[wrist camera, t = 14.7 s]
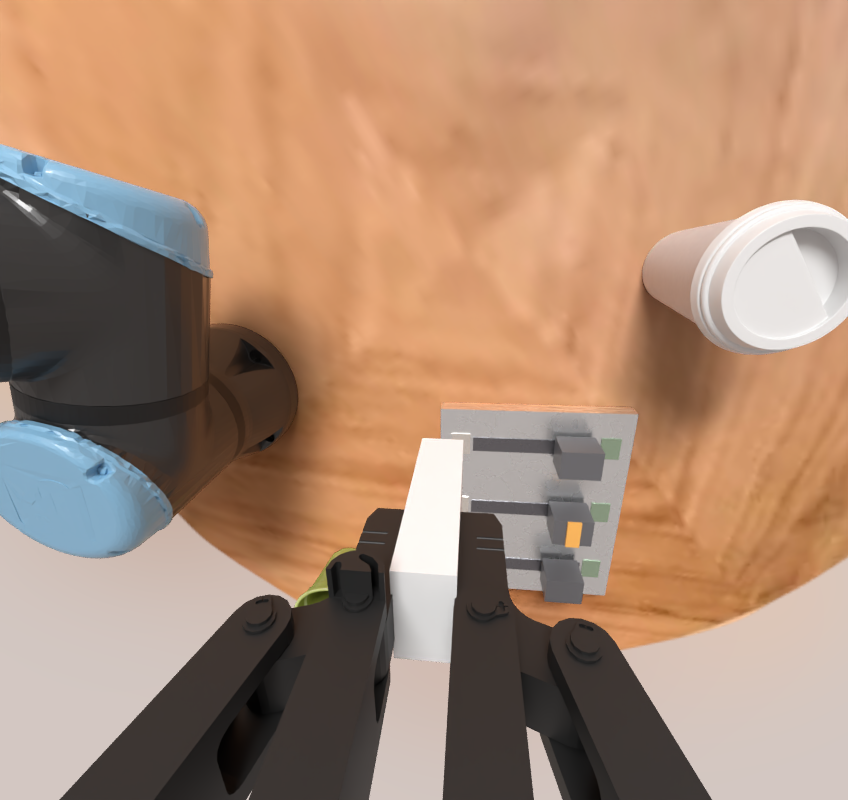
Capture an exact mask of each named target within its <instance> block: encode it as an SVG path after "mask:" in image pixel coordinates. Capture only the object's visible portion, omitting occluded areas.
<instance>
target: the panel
mask: <svg viewBox="0 0 848 800" xmlns="http://www.w3.org/2000/svg"><path fill="white" fill-rule="evenodd" d="M638 415H639V414H638V413H637V412H636V411H635V410H634V409H633V408H632V407H613V406H576V405H538V404H500V403H463V402H442V405H441V439H456V440H464V441H463V479H462V512H473V513H491V514H494V515H495V516H496V517H497V519H498V520H499V522H500V523H501V524H502V530H503V541H504V552H505V560H506V570H507V580H508V588H510V589H523V590H537V591H542V586H541V581H540V572H541V563H542V558H547V559H563V560H577V562H578V565H579V568H580V571H581V574H582V577H583V580H584V589H583V594H592V595H605V591H606V586H607V580H608V575H609V570H610V564H611V559H612V554H613V548H614V543H615V538H616V532H617V527H618V522H619V516H620V511H621V506H622V500H623V495H624V490H625V484H626V479H627V474H628V468H629V463H630V458H631V452H632V447H633V442H634V436H635V431H636V426H637V420H638ZM556 436H565V437H594V438H596V439H597V441H598V443H599V444H600V446H601V447H602V449H603V451H604V452H605V460H604V466H603V472H602V478H601V481H589V480H567V479H559V478H558V475H557V472H556V469H555V466H554V463H553V455H554V446H555V437H556ZM549 501H558V502H578V503H587V506H588V508H589V510H590V513H591V515H592V518H593V520H594V522H595V525H594V532H593V538H592V544H591V547H588V546H579V548H572V547H565V545H555V544H552V543H551V539H550V535H549V531H548V527H547V515H548V506H549Z"/></svg>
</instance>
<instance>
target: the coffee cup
mask: <svg viewBox="0 0 848 800" xmlns="http://www.w3.org/2000/svg"><path fill="white" fill-rule="evenodd" d="M642 277H643V283H644V286H645V288H646V290H647V291H648V293H649V294H650V295H651V296H652V297H654V298H655V299H657V300H658V301H660V302H661V303H663V304H665V305H666V306H668V307H670V308H671V309H673V310H675V311H676V312H678V313H679V314H681V315H683V316H684V317H686V318H687V319H689V320H691V321H692V322H694V323H696V324H697V326H698V328H699V329H700V331H701V332H702V333H703V335H704V336H705V337H706V338H707V339H708V340H710V341H711V342H712V343H714V344H715V345H717V346H718V347H720V348H722V349H725V350H727V351H730V352H734V353H739V354H749V355H763V354H772V353H777V352H782V351H786V350H789V349H792V348H796V347H800V346H803V345H806V344H808V343H811V342H813V341H815V340H817V339H819V338H821V337H823V336H824V335H826V334H827V333H829V332H830V331H832V330H833V329H834V328H836V327H837V326H838V325H839V324H840V323H842V322H843V321H844V320H845V319H846V318H847V317H848V219H847V218H846V217H845V216H843V215H842V214H841V213H839V212H838V211H836V210H834V209H832V208H830V207H828V206H825V205H822V204H819V203H816V202H811V201H805V200H786V201H779V202H774V203H771V204H767V205H764V206H761V207H759V208H756V209H754V210H752V211H750V212H748V213H746V214H744V215H743V216H741V217H740V218H738V219H733V220H729V221H724V222H719V223H715V224H710V225H705V226H701V227H696V228H691V229H686V230H682V231H678V232H674V233H672V234H669V235H667V236H666V237H664V238H662V239H661V240H660V241H659V242H657V243H656V244H655V245H654V246H653V248H652V249H651V250H650V252H649V253H648V255H647V257H646V259H645V262H644V265H643V271H642Z"/></svg>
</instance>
